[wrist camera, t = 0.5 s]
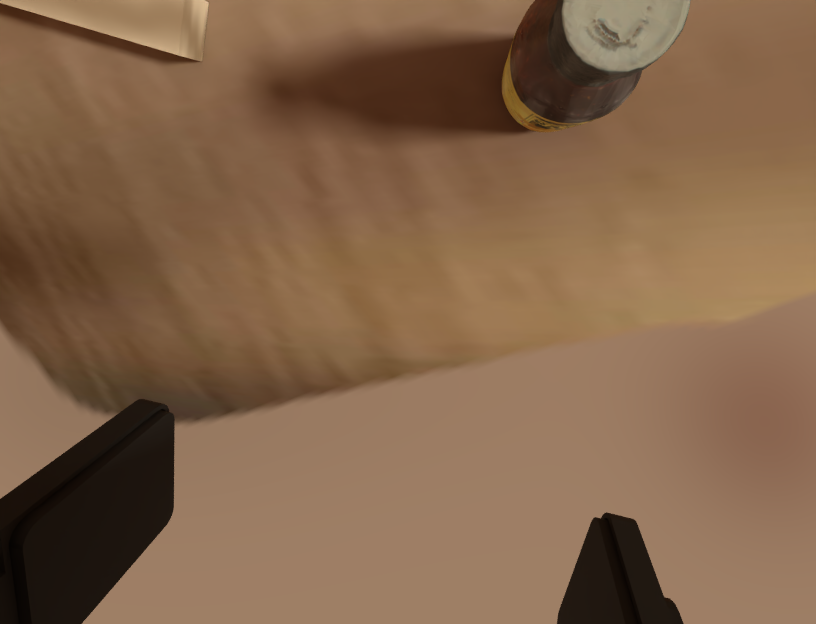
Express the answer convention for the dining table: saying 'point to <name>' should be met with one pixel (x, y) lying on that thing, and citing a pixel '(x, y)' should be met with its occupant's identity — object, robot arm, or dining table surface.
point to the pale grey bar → (133, 20)
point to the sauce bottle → (584, 57)
